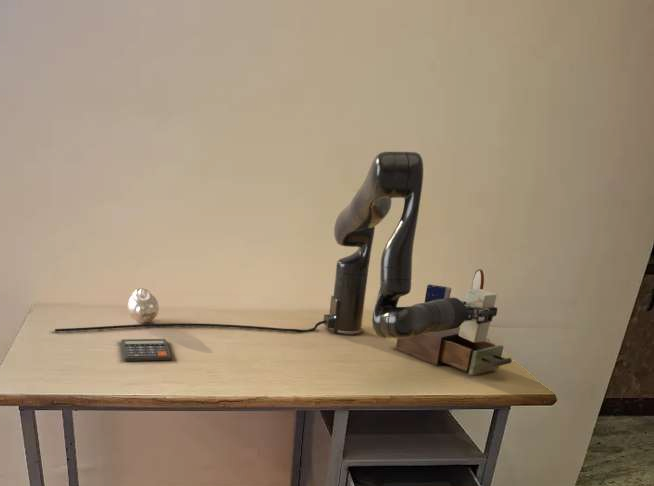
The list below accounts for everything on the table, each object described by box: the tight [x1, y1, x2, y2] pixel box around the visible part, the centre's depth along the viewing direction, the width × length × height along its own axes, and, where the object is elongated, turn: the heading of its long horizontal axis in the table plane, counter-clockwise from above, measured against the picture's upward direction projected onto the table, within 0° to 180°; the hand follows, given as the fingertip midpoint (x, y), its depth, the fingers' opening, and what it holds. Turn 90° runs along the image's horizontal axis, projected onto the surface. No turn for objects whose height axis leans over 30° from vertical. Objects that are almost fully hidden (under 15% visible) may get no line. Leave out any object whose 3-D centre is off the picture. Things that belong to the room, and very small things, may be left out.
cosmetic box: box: [459, 288, 498, 342], centre depth 179 cm, size 6×4×12 cm
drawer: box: [439, 336, 512, 376], centre depth 184 cm, size 19×11×6 cm, turn 38°
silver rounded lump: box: [127, 287, 160, 324], centre depth 201 cm, size 9×9×10 cm
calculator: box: [120, 338, 172, 362], centre depth 182 cm, size 12×1×15 cm
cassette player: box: [423, 284, 452, 303], centre depth 218 cm, size 7×2×12 cm, turn 67°
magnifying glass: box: [471, 268, 485, 290], centre depth 206 cm, size 9×2×20 cm, turn 0°
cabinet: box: [395, 326, 460, 366], centre depth 193 cm, size 15×12×8 cm
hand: (484, 308), depth 180 cm, fingers closed on cosmetic box, 6 cm apart
